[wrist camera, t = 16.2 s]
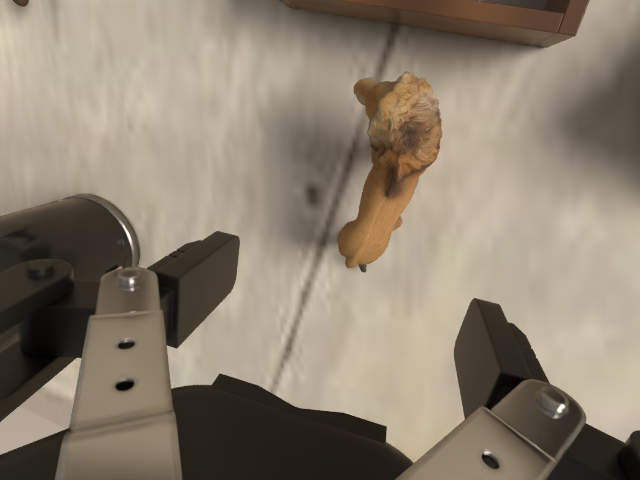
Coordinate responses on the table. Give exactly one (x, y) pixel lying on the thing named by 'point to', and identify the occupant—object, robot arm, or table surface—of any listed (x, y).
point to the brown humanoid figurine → (21, 2)
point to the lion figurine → (391, 161)
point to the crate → (465, 17)
